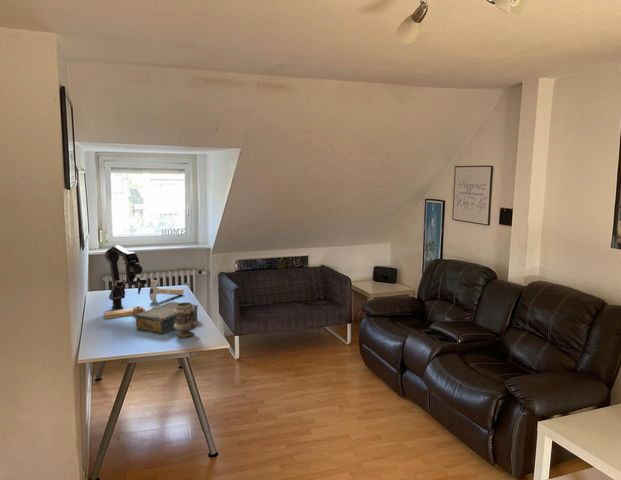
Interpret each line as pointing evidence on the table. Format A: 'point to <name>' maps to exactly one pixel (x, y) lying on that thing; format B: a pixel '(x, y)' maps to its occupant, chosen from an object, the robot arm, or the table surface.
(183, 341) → the table surface
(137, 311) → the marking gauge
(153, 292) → the hammer
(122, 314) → the board
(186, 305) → the apothecary jar
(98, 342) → the table surface
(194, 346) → the table surface
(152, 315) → the metal box
